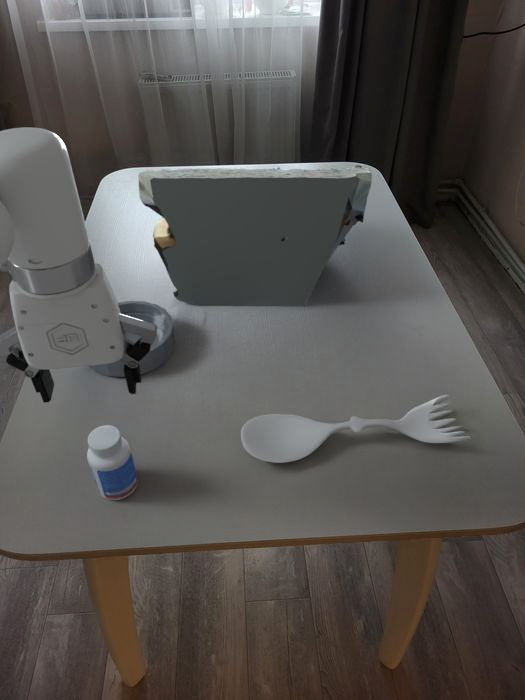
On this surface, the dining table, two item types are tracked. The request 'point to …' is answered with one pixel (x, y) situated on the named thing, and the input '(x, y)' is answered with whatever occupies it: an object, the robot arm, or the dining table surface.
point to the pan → (160, 346)
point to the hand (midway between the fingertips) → (91, 389)
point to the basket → (251, 229)
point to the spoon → (307, 435)
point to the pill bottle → (111, 463)
